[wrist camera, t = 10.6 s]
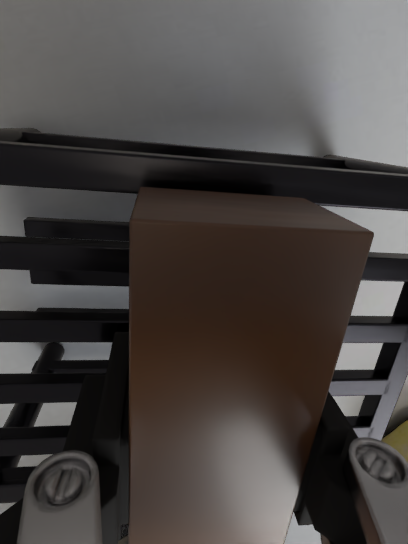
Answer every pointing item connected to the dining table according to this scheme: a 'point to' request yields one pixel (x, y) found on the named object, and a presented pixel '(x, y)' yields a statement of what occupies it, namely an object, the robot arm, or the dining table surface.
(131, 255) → the brown wooden block
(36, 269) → the rack
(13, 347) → the dining table surface
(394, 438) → the fruit
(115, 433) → the robot arm
